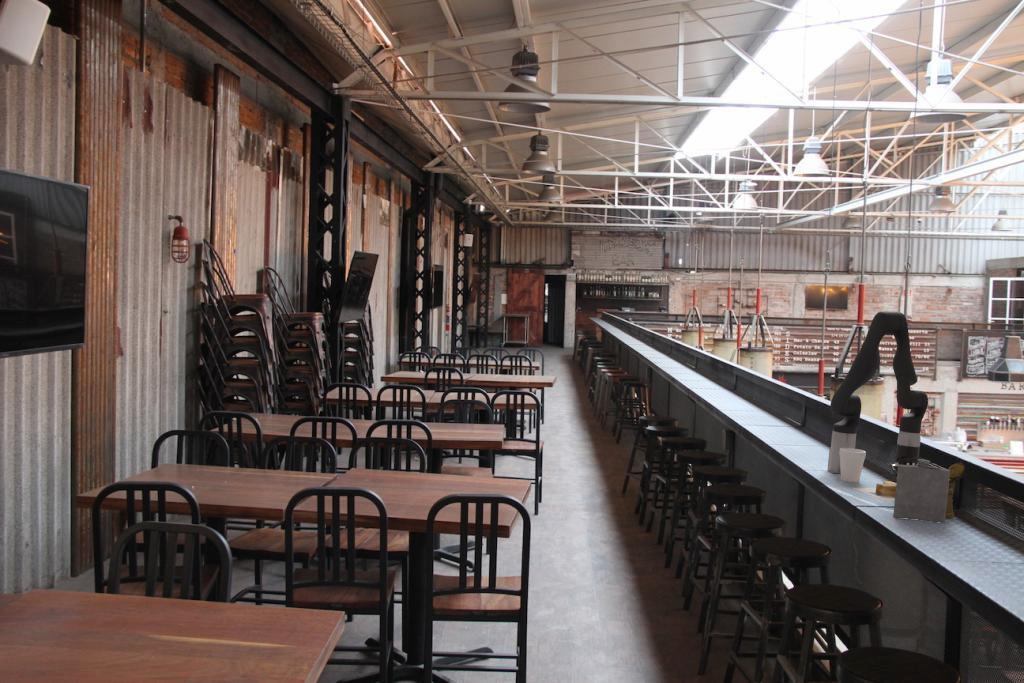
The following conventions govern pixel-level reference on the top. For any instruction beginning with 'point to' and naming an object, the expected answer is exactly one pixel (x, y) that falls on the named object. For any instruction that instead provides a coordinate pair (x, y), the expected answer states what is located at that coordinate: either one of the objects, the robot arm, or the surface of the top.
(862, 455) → the foam cup
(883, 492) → the t block
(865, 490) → the t board
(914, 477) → the hip flask
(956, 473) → the wooden mug
